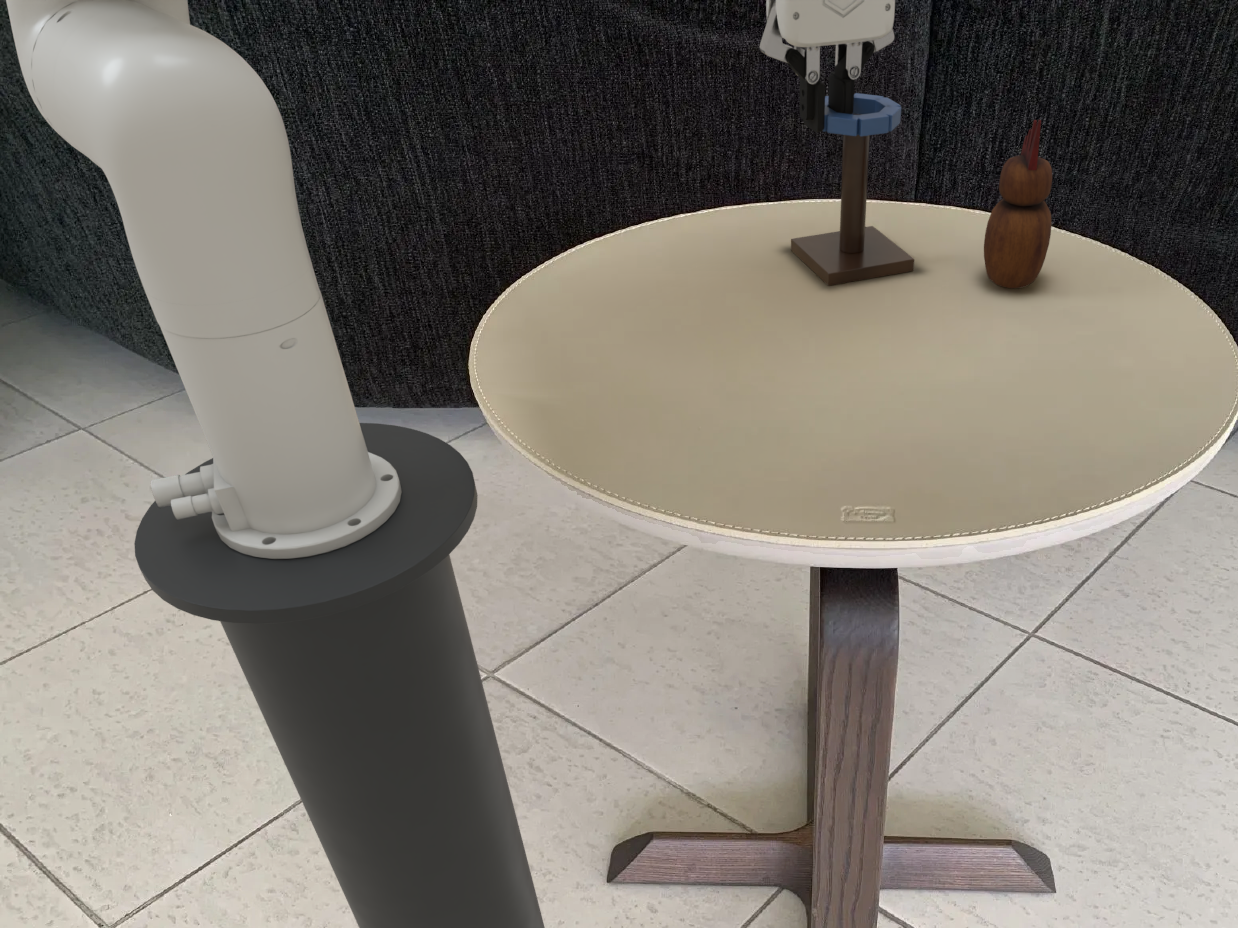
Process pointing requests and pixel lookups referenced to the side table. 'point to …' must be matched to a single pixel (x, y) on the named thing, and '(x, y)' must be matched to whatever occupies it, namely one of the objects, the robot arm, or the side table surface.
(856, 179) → the post
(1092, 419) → the side table surface
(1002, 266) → the wooden figurine
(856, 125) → the ring
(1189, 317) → the side table surface
